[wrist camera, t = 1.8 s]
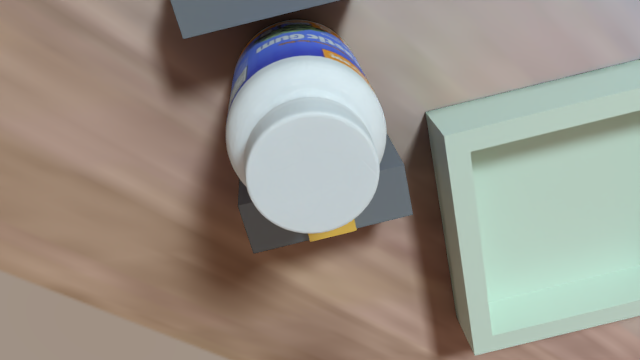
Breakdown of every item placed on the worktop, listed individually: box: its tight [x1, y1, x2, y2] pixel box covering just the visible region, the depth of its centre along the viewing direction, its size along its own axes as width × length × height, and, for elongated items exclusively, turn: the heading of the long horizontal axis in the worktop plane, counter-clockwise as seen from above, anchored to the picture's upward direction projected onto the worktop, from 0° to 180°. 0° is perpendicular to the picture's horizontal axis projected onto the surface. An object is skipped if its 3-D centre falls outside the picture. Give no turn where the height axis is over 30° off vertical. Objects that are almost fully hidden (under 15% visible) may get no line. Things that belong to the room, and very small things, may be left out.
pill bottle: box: [226, 20, 386, 234], centre depth 22 cm, size 5×5×10 cm
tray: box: [425, 59, 640, 355], centre depth 28 cm, size 12×12×3 cm
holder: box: [171, 0, 413, 253], centre depth 24 cm, size 12×7×4 cm, turn 13°
